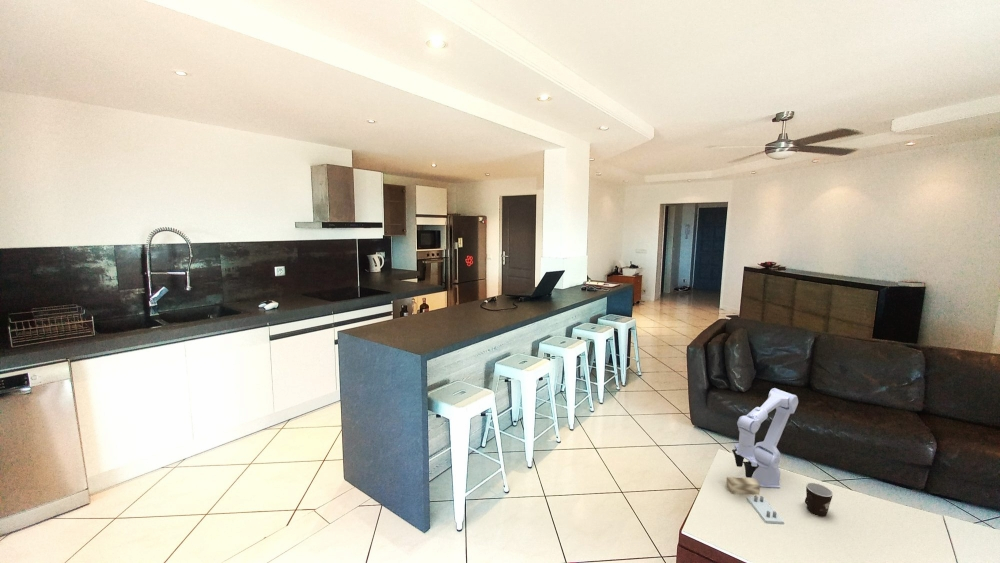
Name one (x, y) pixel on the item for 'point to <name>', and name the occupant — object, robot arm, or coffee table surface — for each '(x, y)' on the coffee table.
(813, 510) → the coffee mug
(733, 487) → the wooden block
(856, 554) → the coffee table surface
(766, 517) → the peg plate
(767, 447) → the robot arm
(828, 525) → the coffee table surface
